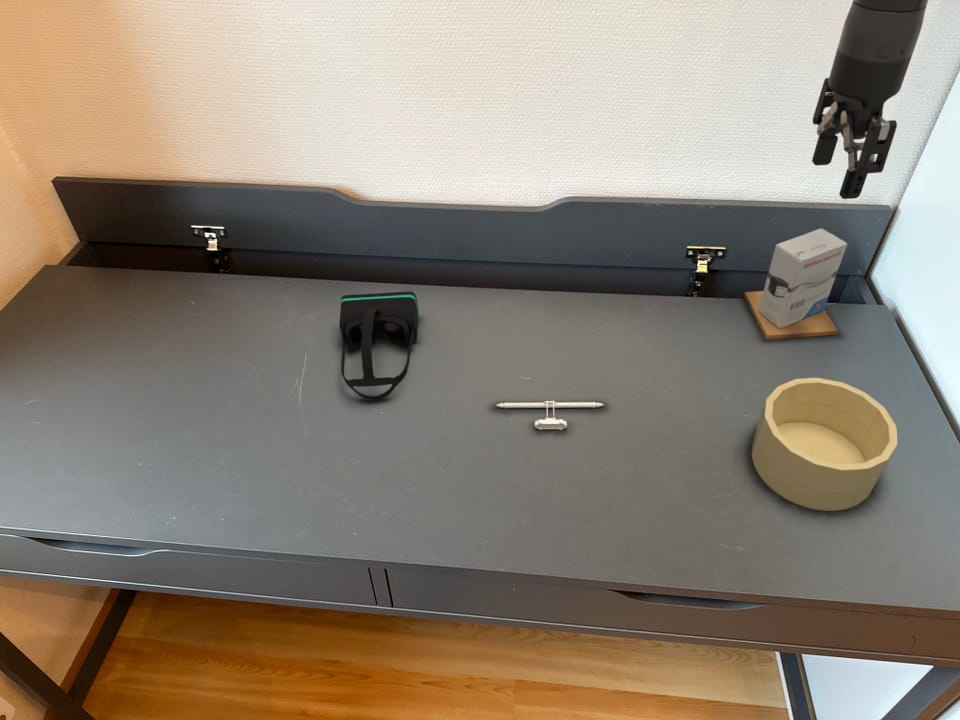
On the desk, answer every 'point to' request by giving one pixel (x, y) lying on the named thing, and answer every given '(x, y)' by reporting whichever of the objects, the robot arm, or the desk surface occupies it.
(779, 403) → the pot
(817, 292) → the ink box
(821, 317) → the plate
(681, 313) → the desk surface
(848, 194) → the robot arm
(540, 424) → the picture light
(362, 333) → the virtual reality headset
